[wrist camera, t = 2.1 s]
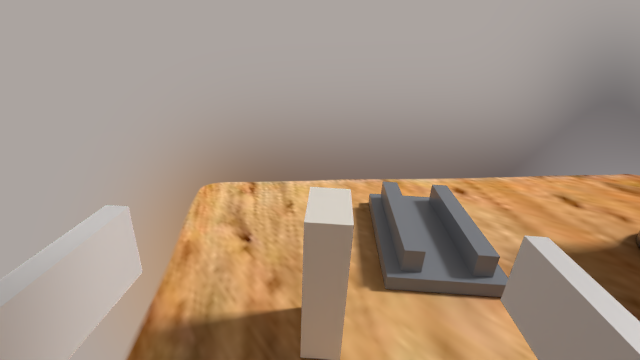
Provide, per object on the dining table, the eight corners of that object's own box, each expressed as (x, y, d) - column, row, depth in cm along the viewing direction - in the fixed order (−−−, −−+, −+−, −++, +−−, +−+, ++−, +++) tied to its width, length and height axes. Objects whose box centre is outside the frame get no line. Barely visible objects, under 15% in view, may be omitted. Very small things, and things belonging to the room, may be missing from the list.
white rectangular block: (339, 309, 28) (350, 189, 23) (339, 360, 24) (353, 225, 19) (306, 306, 28) (310, 186, 24) (300, 357, 24) (304, 222, 19)
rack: (448, 207, 47) (454, 183, 45) (508, 297, 31) (521, 264, 29) (368, 202, 47) (371, 178, 46) (385, 288, 31) (390, 255, 29)
